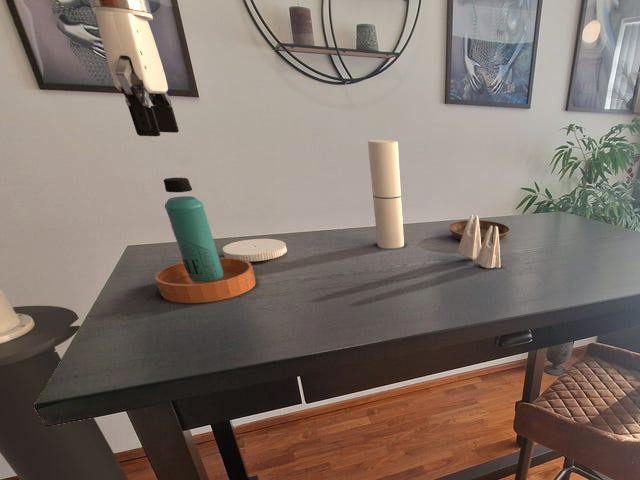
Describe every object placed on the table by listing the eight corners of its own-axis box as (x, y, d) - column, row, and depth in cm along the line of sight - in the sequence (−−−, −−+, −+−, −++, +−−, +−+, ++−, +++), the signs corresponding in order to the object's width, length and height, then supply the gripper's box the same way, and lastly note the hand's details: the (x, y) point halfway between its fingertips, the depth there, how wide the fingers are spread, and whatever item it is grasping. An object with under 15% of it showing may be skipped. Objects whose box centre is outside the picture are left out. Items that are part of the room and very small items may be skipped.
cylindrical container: (381, 249, 117) (371, 142, 103) (374, 242, 122) (364, 139, 108) (407, 247, 119) (401, 142, 106) (400, 240, 125) (393, 139, 111)
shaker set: (456, 258, 112) (456, 213, 106) (468, 255, 114) (468, 211, 108) (489, 270, 105) (491, 222, 99) (501, 267, 107) (504, 220, 101)
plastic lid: (295, 249, 114) (293, 239, 113) (275, 266, 103) (273, 255, 101) (240, 248, 114) (237, 238, 112) (214, 265, 102) (211, 254, 101)
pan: (147, 306, 82) (140, 288, 80) (176, 275, 96) (170, 259, 94) (248, 299, 86) (243, 282, 84) (261, 271, 100) (257, 255, 98)
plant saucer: (516, 245, 124) (517, 234, 123) (454, 247, 121) (454, 235, 119) (500, 229, 139) (501, 219, 137) (444, 230, 135) (444, 220, 133)
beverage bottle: (231, 278, 94) (201, 175, 83) (221, 289, 88) (188, 180, 77) (197, 279, 93) (163, 174, 82) (185, 290, 87) (147, 180, 76)
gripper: (115, 10, 73) (152, 130, 82) (60, -11, 59) (112, 136, 68) (167, 15, 74) (197, 131, 83) (125, -5, 60) (168, 138, 69)
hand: (159, 133), depth 76 cm, fingers open, 9 cm apart
